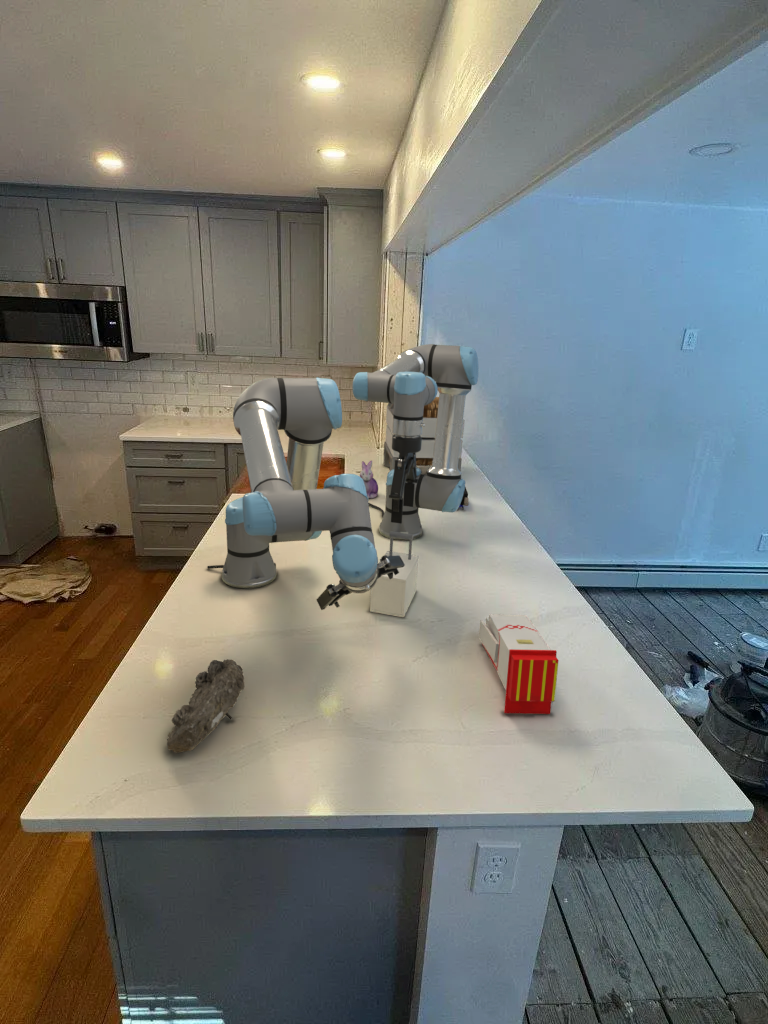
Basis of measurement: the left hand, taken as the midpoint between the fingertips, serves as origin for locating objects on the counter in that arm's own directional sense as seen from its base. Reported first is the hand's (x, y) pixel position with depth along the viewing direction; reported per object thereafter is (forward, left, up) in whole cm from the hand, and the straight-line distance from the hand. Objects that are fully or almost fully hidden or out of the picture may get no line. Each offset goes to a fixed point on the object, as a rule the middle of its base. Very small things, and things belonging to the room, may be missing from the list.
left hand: (362, 587), depth 129 cm
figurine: (-30, +106, -15) cm, 111 cm away
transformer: (-17, +150, -15) cm, 152 cm away
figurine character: (+8, +108, -15) cm, 110 cm away
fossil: (-19, -34, -15) cm, 41 cm away
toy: (+35, -1, -15) cm, 38 cm away
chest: (+3, +22, -15) cm, 27 cm away
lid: (+3, +23, -5) cm, 23 cm away
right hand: (+3, +27, +9) cm, 29 cm away
